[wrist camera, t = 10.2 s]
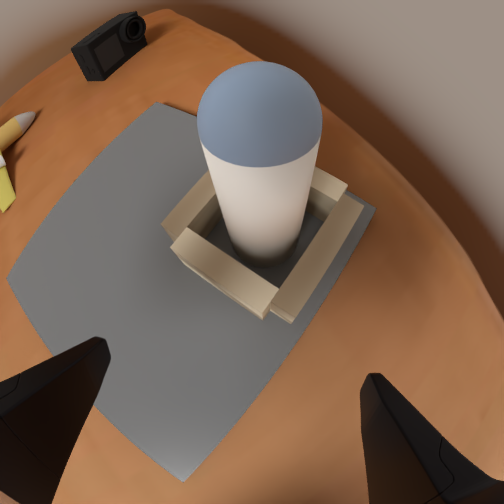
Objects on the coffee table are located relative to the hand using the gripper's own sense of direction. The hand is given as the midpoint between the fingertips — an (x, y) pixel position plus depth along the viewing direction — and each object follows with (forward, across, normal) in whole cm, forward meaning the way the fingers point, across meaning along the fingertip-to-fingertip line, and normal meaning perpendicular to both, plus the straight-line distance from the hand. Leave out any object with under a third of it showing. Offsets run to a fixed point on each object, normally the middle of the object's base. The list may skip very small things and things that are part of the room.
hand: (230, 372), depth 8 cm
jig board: (+11, +7, +1) cm, 13 cm away
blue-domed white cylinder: (+11, 0, -1) cm, 11 cm away
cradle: (+11, 0, -1) cm, 11 cm away
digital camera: (+32, +24, -20) cm, 44 cm away
